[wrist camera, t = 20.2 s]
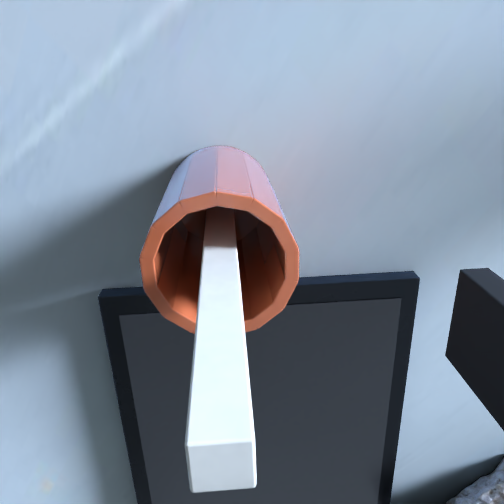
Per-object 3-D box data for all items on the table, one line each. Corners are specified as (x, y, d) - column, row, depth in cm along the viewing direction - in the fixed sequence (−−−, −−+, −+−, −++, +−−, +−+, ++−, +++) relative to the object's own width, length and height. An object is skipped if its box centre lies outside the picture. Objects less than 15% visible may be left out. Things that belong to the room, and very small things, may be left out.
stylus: (209, 214, 22) (190, 494, 8) (207, 191, 22) (183, 445, 7) (232, 213, 23) (257, 489, 8) (231, 190, 22) (255, 439, 7)
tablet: (152, 560, 34) (150, 575, 33) (102, 288, 25) (97, 298, 24) (379, 540, 35) (383, 554, 34) (413, 270, 26) (421, 278, 25)
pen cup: (174, 248, 24) (151, 342, 16) (163, 146, 22) (129, 195, 14) (272, 242, 24) (298, 333, 16) (270, 142, 22) (300, 187, 14)
